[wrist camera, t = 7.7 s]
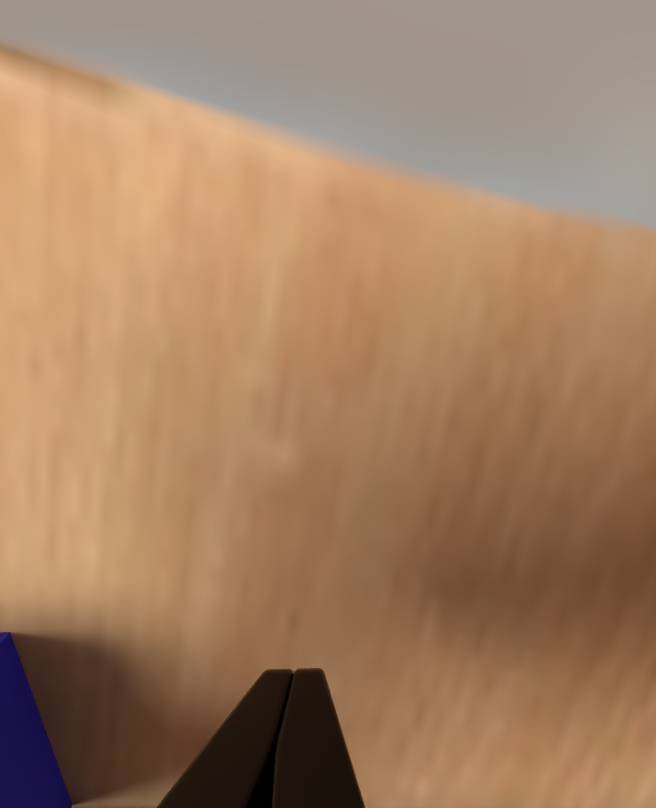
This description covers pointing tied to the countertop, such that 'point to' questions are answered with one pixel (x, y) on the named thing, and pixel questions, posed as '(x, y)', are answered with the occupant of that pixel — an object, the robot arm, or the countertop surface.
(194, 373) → the countertop surface
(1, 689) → the blue cradle bracket
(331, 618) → the countertop surface
